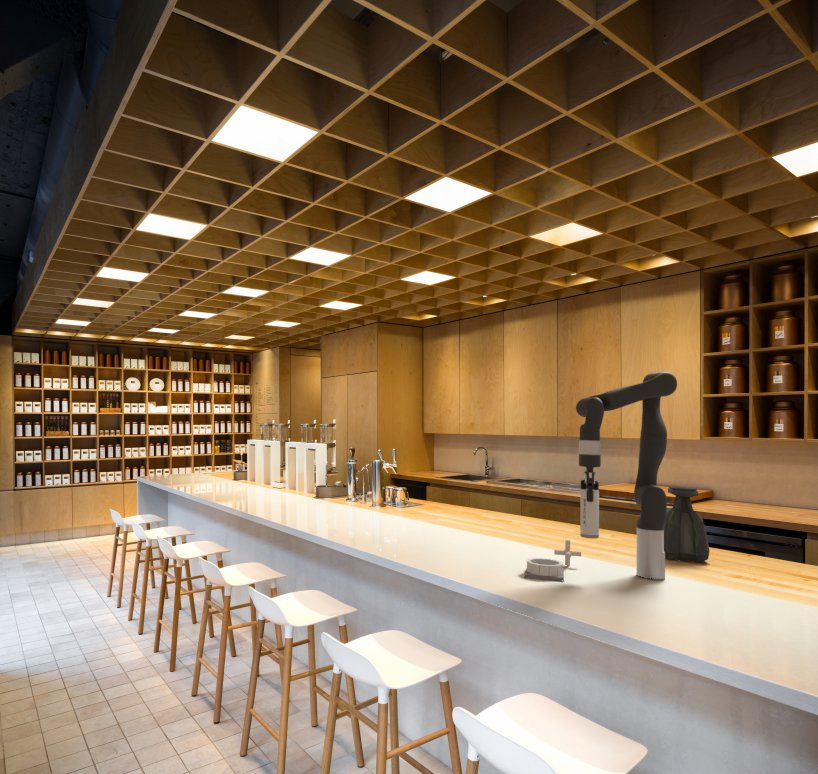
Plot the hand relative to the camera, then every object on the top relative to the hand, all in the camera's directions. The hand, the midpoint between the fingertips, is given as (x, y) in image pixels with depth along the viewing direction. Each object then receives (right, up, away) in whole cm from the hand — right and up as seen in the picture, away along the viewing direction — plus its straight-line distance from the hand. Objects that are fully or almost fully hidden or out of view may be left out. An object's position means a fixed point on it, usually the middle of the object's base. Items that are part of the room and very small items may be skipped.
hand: (589, 500), depth 205 cm
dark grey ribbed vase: (+53, -33, +43) cm, 76 cm away
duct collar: (-16, -27, +2) cm, 31 cm away
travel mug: (0, -13, -1) cm, 13 cm away
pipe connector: (-3, -29, +18) cm, 34 cm away
